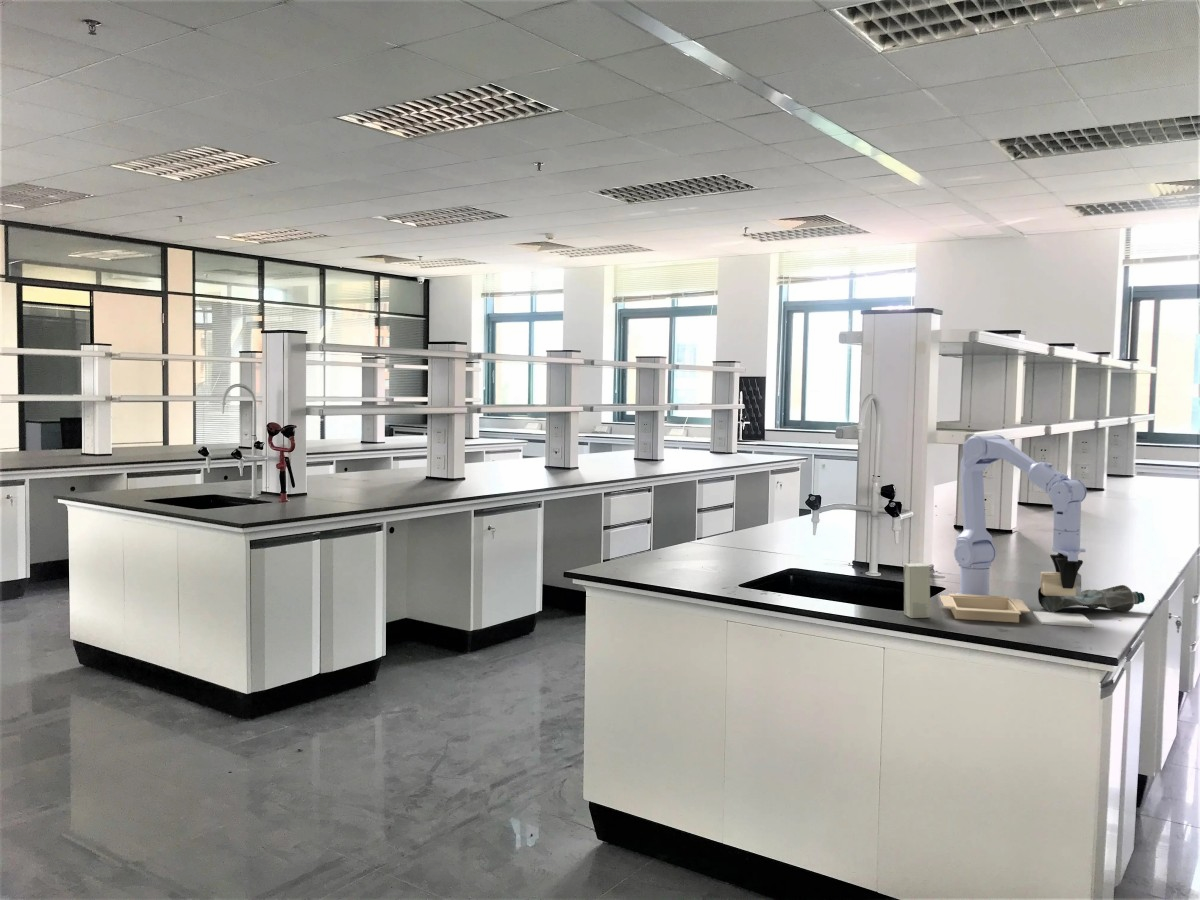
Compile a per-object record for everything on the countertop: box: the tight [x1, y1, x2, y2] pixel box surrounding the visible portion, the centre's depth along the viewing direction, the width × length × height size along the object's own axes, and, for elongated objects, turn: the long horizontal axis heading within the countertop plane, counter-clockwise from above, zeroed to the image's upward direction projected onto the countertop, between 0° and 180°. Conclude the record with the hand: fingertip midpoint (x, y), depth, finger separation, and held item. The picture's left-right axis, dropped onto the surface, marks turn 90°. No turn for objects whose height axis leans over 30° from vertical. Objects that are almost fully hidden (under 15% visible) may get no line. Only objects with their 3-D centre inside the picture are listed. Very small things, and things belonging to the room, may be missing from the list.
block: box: [1040, 571, 1082, 596], centre depth 213 cm, size 4×8×5 cm, turn 74°
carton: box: [939, 593, 1031, 623], centre depth 220 cm, size 19×19×3 cm
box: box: [903, 562, 931, 619], centre depth 218 cm, size 5×4×13 cm
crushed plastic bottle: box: [1037, 584, 1145, 613], centre depth 223 cm, size 13×7×25 cm
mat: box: [1032, 610, 1095, 628], centre depth 214 cm, size 11×11×1 cm
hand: (1065, 586), depth 213 cm, fingers closed on block, 4 cm apart
